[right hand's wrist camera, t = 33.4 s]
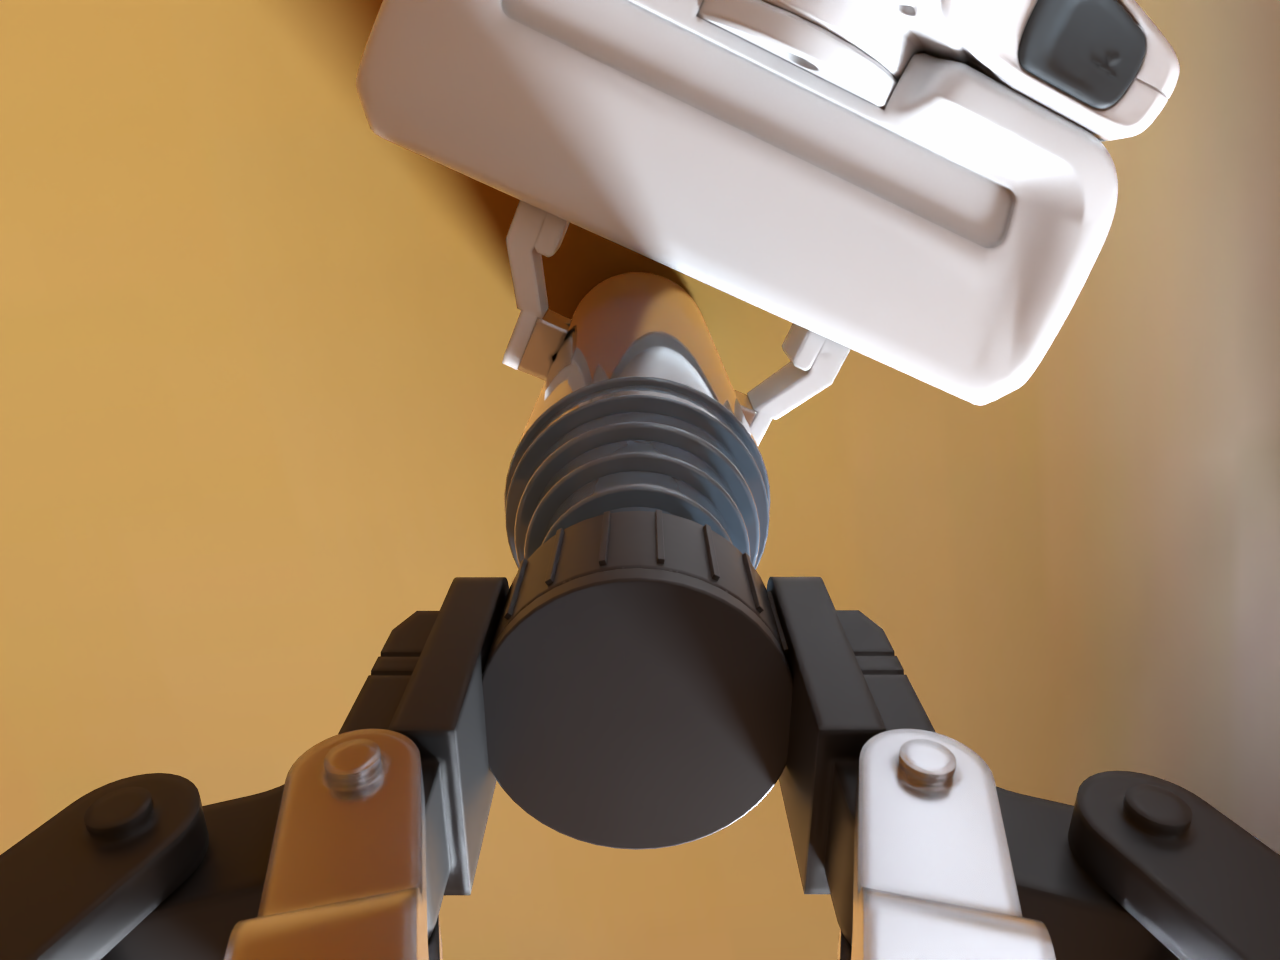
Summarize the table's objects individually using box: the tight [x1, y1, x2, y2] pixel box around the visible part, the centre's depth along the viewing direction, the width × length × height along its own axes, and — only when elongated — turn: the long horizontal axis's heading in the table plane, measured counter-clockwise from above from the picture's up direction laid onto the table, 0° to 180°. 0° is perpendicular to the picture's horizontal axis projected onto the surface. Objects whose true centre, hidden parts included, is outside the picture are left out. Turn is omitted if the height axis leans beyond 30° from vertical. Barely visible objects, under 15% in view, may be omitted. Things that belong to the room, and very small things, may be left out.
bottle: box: [504, 272, 770, 570], centre depth 22 cm, size 5×5×22 cm
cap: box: [482, 510, 793, 849], centre depth 11 cm, size 4×4×2 cm
